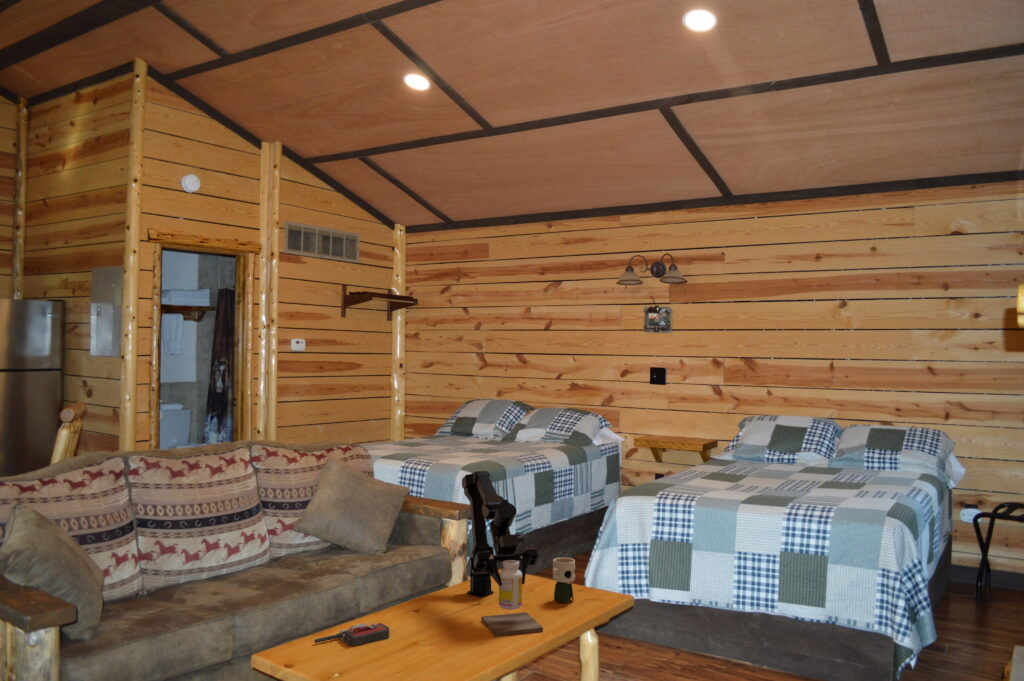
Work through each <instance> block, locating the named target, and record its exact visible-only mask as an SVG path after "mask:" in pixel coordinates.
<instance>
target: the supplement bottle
mask: <svg viewBox="0 0 1024 681" xmlns="http://www.w3.org/2000/svg"><path fill="white" fill-rule="evenodd" d="M519 564H520V563H519V561H516V560H505V561H503V562H502V567H503V569H501V570H500V571H499V575H500V579H501V586H499V585H498V606H499V608H501V609H504V610H517V609H520V608H522V605H523V602H522V601H523V584H522V572H521V571H520V570H519V569H518V568H519Z"/></svg>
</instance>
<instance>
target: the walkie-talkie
mask: <svg viewBox="0 0 1024 681" xmlns="http://www.w3.org/2000/svg"><path fill="white" fill-rule="evenodd" d="M335 639H340V641H341V642H345V643H346V645H347V646H351V647H352V646H353V647H354V646H355V647H359V646H363V645H366V644H367V643H368V644H370V643H375V642H379V641H383V640H387V639H390V627H389V626H387V625H385V624H384V623H382V622H379V623H375V622H372V623H371V625H370V624H369V625H367V624H366V623H359V624H356V625H352V626H350V628H347V629H343V630H339V633H336V634H333V635H332V634H331V635H328V636H323V637H319V638H315V639H314V643H315V644H318V643H322V642H327V641H330V640H331V641H332V640H335Z"/></svg>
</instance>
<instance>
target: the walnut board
mask: <svg viewBox="0 0 1024 681" xmlns="http://www.w3.org/2000/svg"><path fill="white" fill-rule="evenodd" d="M480 619H481V622H482V623H483V624H484V626H485V627H486V628H487V629H488V630H489V631H490V632H491V633H492V634H493V636H494V637H495V638H499V637H507V636H515V635H516V636H517V635H528V634H536V633H543V632H544V628H543V626H542V625H541V624H540V623H539V622H537V620H535V619H534V618H533V617H532V616H531V615H530V614H529V613H528V612H527V611H526V612H525V611H524V612H515V613H505V614H504V613H503V614H494V615H493V614H492V615H485V616H481V618H480Z"/></svg>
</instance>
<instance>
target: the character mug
mask: <svg viewBox="0 0 1024 681" xmlns="http://www.w3.org/2000/svg"><path fill="white" fill-rule="evenodd" d="M575 572H576V559H574V558H571V557H564V556H563V557H556V558H555V557H554V558H553V559H552V580H553V581H555V585H554V590H553V591H554V593H553V600H555V601H557V602H560V603H570V602H571V601H574V589H573V584H572V582H574V581H575V580H576V573H575Z"/></svg>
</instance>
